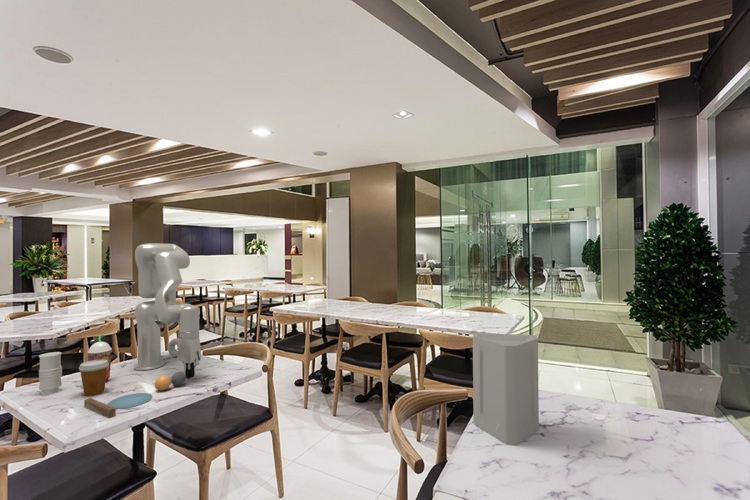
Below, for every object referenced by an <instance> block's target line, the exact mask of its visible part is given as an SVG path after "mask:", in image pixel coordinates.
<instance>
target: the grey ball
mask: <svg viewBox="0 0 750 500" xmlns="http://www.w3.org/2000/svg"><path fill="white" fill-rule="evenodd" d="M170 380H171V384H172V385H173V386H176V387H179V386H182V385H184V384H185V382H186V380H187V378H186V375H185V372H183V371H176V372H175V373H173V374H172V376H171V379H170Z"/></svg>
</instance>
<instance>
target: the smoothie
mask: <svg viewBox="0 0 750 500" xmlns="http://www.w3.org/2000/svg"><path fill="white" fill-rule="evenodd" d="M101 337H102V336H101V334H100V335H98V341H97V342H95V343H92V345H91V346H90V347H89V349H88V351H87V352H86V353H87V361H92V360H102V359H104V360H107V361H108V363H109V365H108V367H107V374H106V382H105V383H107V382H109V379H110V377H111V370H110V369H111V363H112V349H113V348H112V346H110V344H109V343H108V342H105V341H102V339H101Z"/></svg>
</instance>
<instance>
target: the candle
mask: <svg viewBox="0 0 750 500" xmlns="http://www.w3.org/2000/svg"><path fill="white" fill-rule="evenodd" d="M61 355H62V352H60V351H53V352H46V353H42V354H39V355H38V358H39V369H38V381H39V388H38V389H39V390H40V391H41V392H40V395H42V396H43V395H44V396H48V395H53V394H56V393H58V392H60V391H61V389H60V387H61V386H62V385H63V384H62V377H63V366H62V365H61V363H62V361H61Z"/></svg>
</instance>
